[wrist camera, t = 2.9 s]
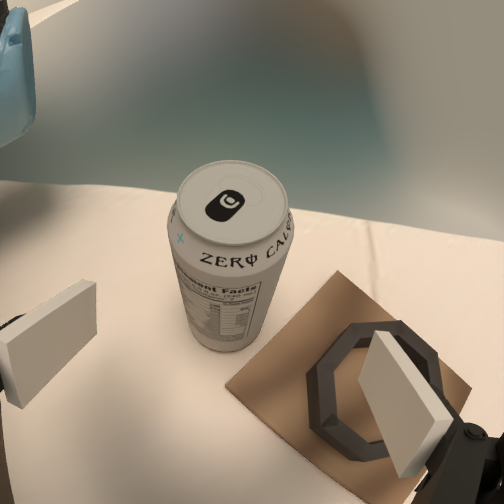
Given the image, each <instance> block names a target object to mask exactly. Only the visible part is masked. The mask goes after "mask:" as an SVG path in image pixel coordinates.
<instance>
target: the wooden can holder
mask: <svg viewBox="0 0 504 504" xmlns="http://www.w3.org/2000/svg"><path fill="white" fill-rule="evenodd" d="M375 330H376V331H386V332H390V334H391V335H392V336H393V338H394V339H395V340H396V341H397V343H398V344H399V345H400V347H401V348H402V349H403V351H404V352H405V353H406V354H407V356H408V357H409V358H410V360H411V361H412V362H413V364H414V365H415V366H416V368H417V369H418V370H419V372H420V373H421V374H422V376H423V377H424V379H425V380H426V381H427V383H432V384H433V385H434V386H436V387H437V388H438V389H440V391H441V392H442V393H443V395H444V396H445V397H446V398H445V399H447V400H448V401H449V403H450V405H452V407H453V408H454V409H455V411H456V412H457V413H458V415H459V414H460V412H461V410H462V408H463V406H464V404H465V402H466V400H467V398H468V396H469V394H470V392H471V390H472V388H471V387H470V386H469V385H468V384H467V383H466V382H465V381H464V380H462V379H461V378H460V377H459V376H458V375H457V374H456V373H455V372H454V371H453V370H452V369H451V368H449V367H448V366H447V365H446V364H445V363H444V362H443V361H442V360H441V359H440V358H438V353H437V352H436V351H435V350H434V349H433V348H432V347H431V346H429V345H428V344H427V343H426V342H425V341H424V340H423V339H422V338H420V337H419V336H418V335H417V334H416V333H415V332H414V331H413V330H411V329H410V328H409V327H408V326H407V325H406V324H405V323H403V322H402V321H401V320H396V319H394V318H393V317H392V316H391V315H390V314H389V313H388V312H386V311H385V310H384V309H383V308H382V307H381V306H379V305H378V304H377V303H376V302H375V301H374V300H372V299H371V298H370V297H369V296H368V295H367V294H365V293H364V292H363V291H362V290H361V289H359V288H358V287H357V286H356V285H355V284H353V283H352V282H351V281H350V280H349V279H348V278H346V277H345V276H344V275H343V274H342V273H340V272H339V271H338V270H337V271H336V273H335V274H334V275H333V276H332V277H331V278H330V279H329V280H328V281H327V282H326V284H325V285H324V286H323V287H322V288H321V289H320V290H319V291H318V292H317V293H316V294H315V295H314V297H313V298H312V299H311V300H310V301H309V302H308V303H307V304H306V305H305V306H304V307H303V308H302V309H301V310H300V311H299V312H298V313H297V314H296V316H295V317H294V318H293V319H292V320H291V321H290V322H289V323H288V324H287V325H286V326H285V327H284V328H283V329H282V330H281V331H280V332H279V333H278V334H277V335H276V336H275V337H274V338H273V339H272V340H271V341H270V342H269V343H268V344H267V345H266V346H265V347H264V348H263V349H262V350H261V351H260V352H259V353H258V354H257V355H256V356H255V357H254V358H253V359H252V360H251V361H250V362H249V363H248V364H247V365H246V366H245V367H244V368H243V369H241V370H240V371H239V372H238V373H237V374H236V375H235V376H234V377H233V378H232V379H231V380H230V381H229V382H228V383H227V384H226V385H225V387H226V388H227V389H228V390H229V391H230V392H231V393H232V394H233V395H234V396H235V397H236V398H237V399H238V400H240V401H241V402H242V403H243V404H244V405H245V406H246V407H247V408H248V409H249V410H250V411H251V412H253V413H254V414H255V415H256V416H257V417H258V418H259V419H260V420H262V421H263V422H264V423H265V424H266V425H267V426H268V427H269V428H271V429H272V430H273V431H274V432H275V433H276V434H278V435H279V436H280V437H281V438H282V439H284V440H285V441H286V442H287V443H288V444H289V445H291V446H292V447H293V448H294V449H296V450H297V451H298V452H299V453H300V454H302V455H303V456H304V457H305V458H307V459H308V460H309V461H310V462H312V463H313V464H314V465H316V466H317V467H318V468H319V469H321V470H322V471H323V472H325V473H326V474H327V475H329V476H330V477H331V478H333V479H334V480H335V481H337V482H338V483H339V484H341V485H342V486H343V487H345V488H346V489H348V490H349V491H350V492H352V493H353V494H355V495H356V496H358V497H359V498H360V499H362V500H363V501H365V502H366V503H368V504H403V502H404V501H405V500H406V498H407V497H408V496H409V494H410V493H411V492H412V490H413V489H414V487H415V486H416V485H417V483H418V482H419V480H420V479H421V477H422V476H423V475H424V473H425V472H426V470H427V468H426V466H425V465H424V467H423V468H422V470H421V471H420V472H419V474H418V475H417V476H413V477H405V478H399V477H398V474H397V472H396V469H395V467H394V464H393V462H392V459H391V457H390V454H389V452H388V449H387V447H386V444H385V442H384V439H383V437H382V435H381V432H380V430H379V427H378V425H377V423H376V420H375V418H374V416H373V413H372V411H371V408H370V406H369V404H368V401H367V399H366V397H365V395H364V392H363V390H362V388H361V385H360V383H359V381H358V378H359V375H360V372H361V369H362V367H363V364H364V361H365V358H366V355H367V353H368V350H369V347H370V344H371V341H372V338H373V334H374V331H375Z"/></svg>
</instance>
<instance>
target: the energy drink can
mask: <svg viewBox="0 0 504 504" xmlns="http://www.w3.org/2000/svg"><path fill="white" fill-rule="evenodd" d="M167 230H168V237H169V242H170V246H171V251H172V256H173V260H174V265H175V269H176V273H177V278H178V282H179V286H180V290H181V294H182V298H183V302H184V306H185V310H186V314H187V318H188V322H189V326H190V328H191V331H192V333H193V334H194V336H195V337H196V338H197V339H198V340H199V341H200V342H201V343H202V344H203V345H205V346H206V347H208V348H211V349H213V350H216V351H222V352H231V351H236V350H239V349H242V348H244V347H246V346H247V345H249V344H250V343H252V341H253V340H254V339H255V338H256V337H257V336H258V334H259V332H260V330H261V327H262V325H263V322H264V319H265V316H266V314H267V311H268V308H269V305H270V303H271V300H272V297H273V294H274V291H275V289H276V286H277V283H278V280H279V277H280V274H281V272H282V269H283V266H284V263H285V260H286V257H287V254H288V251H289V249H290V246H291V243H292V240H293V236H294V223H293V217H292V214H291V212H290V210H289V207H288V200H287V194H286V192H285V190H284V187H283V186H282V184H281V183H280V182H279V180H278V179H277V178H276V177H275V176H274V175H273V174H272V173H270V172H269V171H267V170H266V169H264V168H262V167H260V166H258V165H255V164H252V163H249V162H245V161H237V160H223V161H216V162H213V163H209V164H206V165H204V166H202V167H199V168H198V169H196V170H195V171H193V172H192V173H190V174H189V175H188V177H186V178H185V180H184V181H183V183H182V184H181V186H180V188H179V191H178V193H177V199H176V201H175V203H174V204H173V206H172V207H171V210H170V213H169V216H168V223H167Z"/></svg>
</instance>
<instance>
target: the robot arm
mask: <svg viewBox="0 0 504 504" xmlns="http://www.w3.org/2000/svg"><path fill="white" fill-rule="evenodd" d="M33 66H34V65H33V53H32V42H31V32H30V25H29V20H28V13H27V10H26V9H25V8H17V7H15V8H13V9H11V10H10V11H9V10H8V6H7V0H0V148H1V147H3V146H4V145H6V144H8V143H10V142H11V141H13V140H15V139H17V138H19V137H20V136H22V135H24V134H25V133H26V132H27V131H28V130H29V129H30V127H31V125H32V124H33V121H34V119H35V113H36V95H35V79H34V67H33ZM96 334H97V324H96V282H92V281H88V280H84V279H82V280H81V281H79V282H77V283H76V284H74V285H72V286H71V287H69V288H67V289H66V290H64V291H62V292H61V293H59V294H57V295H56V296H54V297H52V298H51V299H49V300H48V301H46V302H44V303H43V304H41V305H39V306H38V307H36V308H35V309H33V310H31V311H30V312H28V313H26V314H23V315H19V316H16V317H14V318H13V319H11V320H10V321H8V323H5V324H3V325H2V327H1V326H0V392H1V391H2V390H3V389H4V391H5V395H6V398H7V401H8V402H9V403H11V404H13V405H15V406H17V407H19V408H21V409H23V408H24V407H25V406H26V405H27V404H28V403H29V402H30V401H31V400H32V399H33V398H34V397H35V396H36V395H37V394H38V393H39V391H40V390H41V389H42V388H43V387H44V386H45V385H46V384H47V383H48V382H49V381H50V380H51V379H52V378H53V377H54V376H55V375H56V374H57V373H58V372H59V371H60V370H61V369H62V368H63V367H64V366H65V365H66V364H67V363H68V362H69V361H70V360H71V359H72V358H73V357H74V356H75V355H76V354H77V353H78V352H79V351H80V350H81V349H82V348H83V347H84V346H85V345H86V344H87V343H88V342H89V341H90V340H91V339H92V338H93V337H94V336H95V335H96ZM358 381H359V383H360V385H361V388H362V390H363V392H364V395H365V397H366V399H367V401H368V404H369V406H370V408H371V411H372V413H373V416H374V418H375V420H376V423H377V425H378V427H379V430H380V432H381V435H382V437H383V439H384V442H385V444H386V447H387V449H388V452H389V454H390V457H391V459H392V462H393V464H394V467H395V469H396V472H397V474H398V477H399V478H405V477H413V476H417V475H418V474H419V472H420V471H421V470H422V468H423V467H424V465H425V466H426V468H427V470H428V473H427V475H426V476H425V477H424V479H423V480H422V481H421V483H420V484H419V485H418V487H417V488H416V489H415V490H414V491H415V492H417V493H416V495H415V497H414V499H413V501H412V503H411V504H504V432H503V434H502V436H501V437H500V438H493V437H488V435H487V433H486V431H485V430H484V429H483V428H481V427H480V426H478V425H476V424H473V423H464V422H463V420H462V419H461V418H460V416H459V415H458V413H457V412H456V411H455V409H454V408H453V407H452V405H450V403H449V401H448V400H447V399H445V398H446V397H445V396H444V395H443V393H442V392H441V391H440V389H438V388H437V387H436V386H434V385H433V384H432V383H427V381H426V380H425V379H424V377H423V376H422V374H421V373H420V372H419V370H418V369H417V368H416V366H415V365H414V364H413V362H412V361H411V360H410V358H409V357H408V356H407V354H406V353H405V352H404V351H403V349H402V348H401V347H400V345H399V344H398V343H397V341H396V340H395V339H394V338H393V336H392V335H391V334H390V332H386V331H376V330H375V331H374V334H373V338H372V341H371V344H370V347H369V350H368V353H367V355H366V358H365V361H364V364H363V367H362V369H361V372H360V375H359V378H358ZM501 482H502V483H501ZM500 483H501V486H500ZM0 504H15V503H14V499H13V494H12V489H11V485H10V479H9V474H8V468H7V462H6V455H5V448H4V439H3V429H2V417H1V401H0Z"/></svg>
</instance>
